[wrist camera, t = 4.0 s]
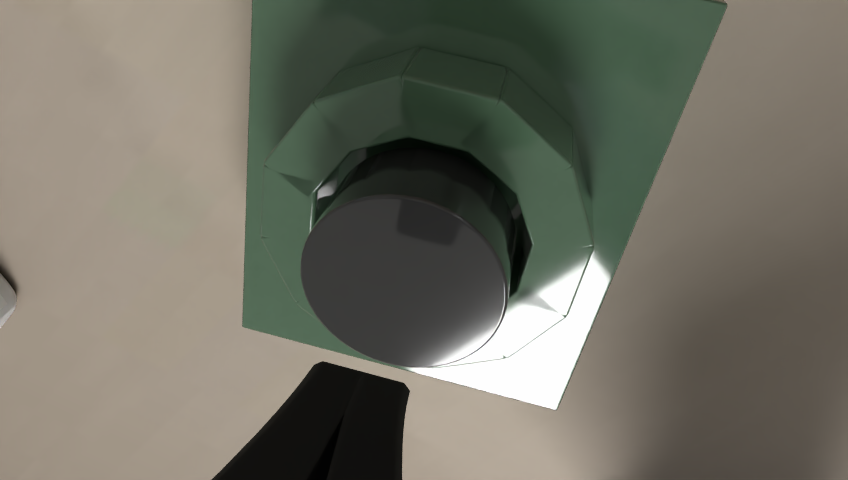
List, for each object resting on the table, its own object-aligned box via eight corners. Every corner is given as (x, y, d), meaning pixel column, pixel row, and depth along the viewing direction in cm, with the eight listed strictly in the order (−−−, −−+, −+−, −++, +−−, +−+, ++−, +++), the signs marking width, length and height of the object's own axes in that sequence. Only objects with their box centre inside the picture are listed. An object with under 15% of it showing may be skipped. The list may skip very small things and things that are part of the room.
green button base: (559, 335, 21) (555, 465, 17) (282, 263, 22) (212, 372, 17) (701, -32, 15) (750, 31, 11) (309, -120, 15) (211, -92, 11)
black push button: (491, 325, 15) (481, 390, 14) (323, 282, 16) (292, 340, 14) (538, 173, 13) (533, 227, 11) (341, 124, 13) (307, 171, 12)
